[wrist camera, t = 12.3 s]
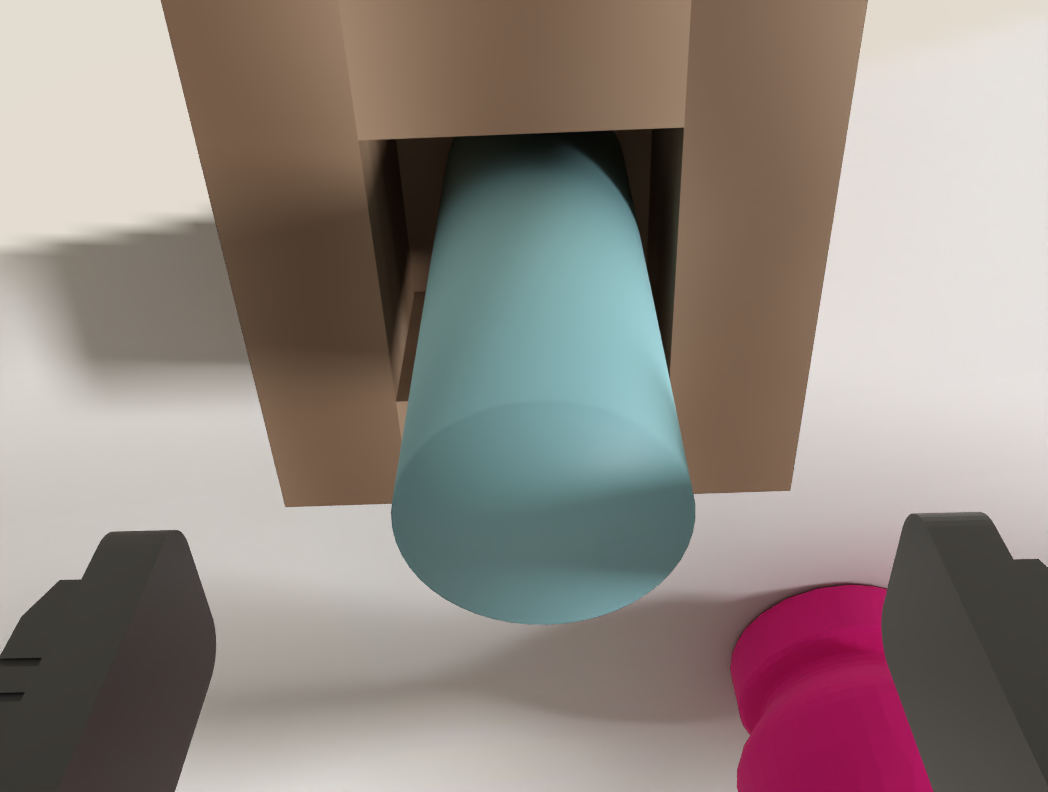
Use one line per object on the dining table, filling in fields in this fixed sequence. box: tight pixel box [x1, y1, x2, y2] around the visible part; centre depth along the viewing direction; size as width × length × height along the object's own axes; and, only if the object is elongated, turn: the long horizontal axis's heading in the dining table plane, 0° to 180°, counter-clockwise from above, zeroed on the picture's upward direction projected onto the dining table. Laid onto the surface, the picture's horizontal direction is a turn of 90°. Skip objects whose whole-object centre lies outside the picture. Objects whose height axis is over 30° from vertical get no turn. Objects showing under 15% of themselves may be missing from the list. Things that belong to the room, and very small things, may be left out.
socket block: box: [161, 0, 868, 507], centre depth 19 cm, size 10×10×5 cm
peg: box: [391, 130, 695, 625], centre depth 16 cm, size 4×4×10 cm
